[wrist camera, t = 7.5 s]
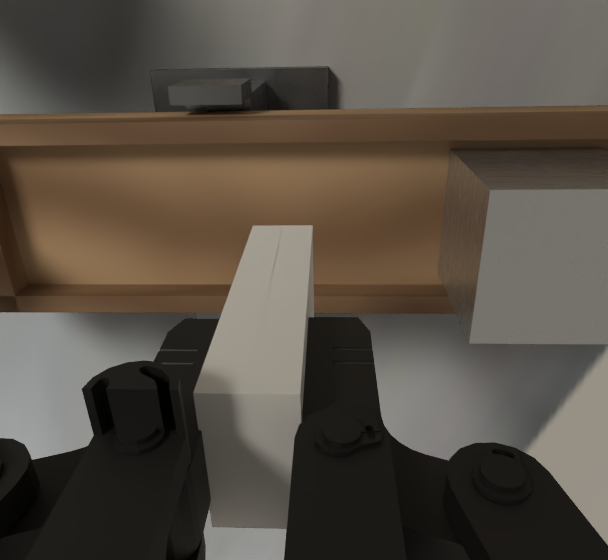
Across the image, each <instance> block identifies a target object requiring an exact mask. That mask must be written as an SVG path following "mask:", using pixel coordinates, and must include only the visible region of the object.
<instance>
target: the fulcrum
mask: <svg viewBox="0 0 608 560" xmlns="http://www.w3.org/2000/svg"><path fill="white" fill-rule="evenodd" d="M150 75H151V82H152V90H153V97H154V104H155V112H201V111H268V110H328V66H319V67H265V68H211V69H156V70H151V71H150ZM221 314H222V313H196V318H197V319H220V317H221Z"/></svg>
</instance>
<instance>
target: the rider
mask: <svg viewBox="0 0 608 560" xmlns="http://www.w3.org/2000/svg"><path fill="white" fill-rule="evenodd" d="M438 274H439V276H440V279H441V281H442V283H443V285H444V288H445V290H446V292H447V294H448V297H449V299H450V301H451V304H452V306H453V308H454V310H455V313H456V315H457V317H458V319H459V322H460V324H461V326H462V328H463V331H464V333H465V335H466V337H467V340H468V342H469V344H606V345H608V150H606V149H604V148H602V147H563V148H463V149H450V151H449V161H448V171H447V181H446V191H445V201H444V211H443V221H442V231H441V241H440V251H439V261H438Z"/></svg>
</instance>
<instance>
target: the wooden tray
mask: <svg viewBox="0 0 608 560" xmlns="http://www.w3.org/2000/svg"><path fill="white" fill-rule="evenodd" d="M563 147H602V148H604V149H606V150H608V105H604V106H537V107H470V108H403V109H335V110H268V111H201V112H134V113H67V114H0V312H116V313H222V311H223V308H224V305H225V303H226V300H227V297H228V294H229V291H230V289H231V286H232V283H233V280H234V277H235V275H236V272H237V269H238V266H239V263H240V260H241V258H242V255H243V252H244V249H245V246H246V244H247V241H248V238H249V235H250V232H251V230H252V227H253V226H273V225H313V277H314V313H455V310H454V308H453V306H452V304H451V301H450V299H449V297H448V294H447V292H446V290H445V288H444V285H443V283H442V281H441V279H440V276H439V274H438V261H439V251H440V241H441V231H442V221H443V211H444V201H445V191H446V181H447V171H448V161H449V151H450V149H463V148H563Z"/></svg>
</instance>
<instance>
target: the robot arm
mask: <svg viewBox="0 0 608 560" xmlns="http://www.w3.org/2000/svg"><path fill="white" fill-rule="evenodd" d="M82 391H83V395H84V399H85V403H86V407H87V411H88V414H89V418H90V422H91V426H92V430H93V434H94V436H93V438H92V440H91V442H90V444H89V445H88V446H87V447H84V448H81V449H77V450H74V451H71V452H66V453H62V454H57V455H53V456H48V457H44V458H39V459H35V460H32V459H31V456H30V454H29V452H28V450H27V448H26V446H25V445H24V444H22V443H20V442H18V441H16V440H14V439H4V438H0V560H205V539H204V533H203V531H204V527H205V522H206V518H207V514H208V510H209V507H210V514H211V521H212V527H234V528H280V529H287V533H286V544H285V556H284V560H608V545H607V544H606V543H605V542H604V540H603V539H602V538H601V537H600V535H599V534H598V533H597V532H596V530H595V529H594V528H593V527H592V525H591V524H590V523H589V522H588V521H587V519H586V518H585V516H584V515H583V514H582V513H581V511H580V510H579V509H578V508H577V507H576V505H575V504H574V503H573V501H572V500H571V499H570V498H569V496H568V495H567V494H566V493H565V491H564V490H563V489H562V488H561V486H560V485H559V484H558V483H557V481H556V480H555V479H554V478H553V476H552V475H551V474H550V472H549V471H548V470H547V469H545V468H544V467H543V466H542V465H541V464H540V463H539V462H538V461H537V460H536V459H535V458H533V457H532V456H530V455H528V454H526V453H524V452H522V451H520V450H518V449H516V448H514V447H510V446H506V445H502V444H498V443H474V444H471V445H469V446H466V447H463V448H460V449H459V450H458V451H457V452H456V453H455V454H454V455H453V456H452V457H451V458H450V460H449V461H448V460H444V459H440V458H436V457H433V456H429V455H425V454H423V453H420V452H417V451H414V450H412V449H410V448H408V447H406V446H405V445H403V444H401V443H399V442H398V441H397V440H396V439H395V438H394V437H393V436H392V435H390V433H389V432H388V430H387V429H386V427H385V426H384V424H383V421H382V417H381V412H380V404H379V396H378V389H377V381H376V373H375V366H374V358H373V351H372V343H371V335H370V331H369V330H368V328H367V327H366V326H365V325H364V324H363V323H362V322H361V320H360V319H359V318H358V317H314V277H313V225H273V226H253V227H252V230H251V232H250V235H249V238H248V241H247V244H246V246H245V249H244V252H243V255H242V258H241V260H240V263H239V266H238V269H237V272H236V275H235V277H234V280H233V283H232V286H231V289H230V291H229V294H228V297H227V300H226V303H225V305H224V308H223V311H222V314H221V317H220V319H184V320H183V321H182V322H180V323H179V324H178V325H177V326H175V327H174V328H173V329H172V330H170V331H169V332H168V334H167V336H166V338H165V340H164V342H163V344H162V346H161V348H160V351H159V352H158V354H157V356H156V358H155V360H154V362H152V361H137V362H127V363H124V364H121V365H118V366H114V367H111V368H108V369H107V370H105V371H103V372H101V373H100V374H98V375H96V376H95V377H93V378H92V379H91V380H90V381H89V382H88V383H87V384H86V385H85V386H84V387H83V388H82Z"/></svg>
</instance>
